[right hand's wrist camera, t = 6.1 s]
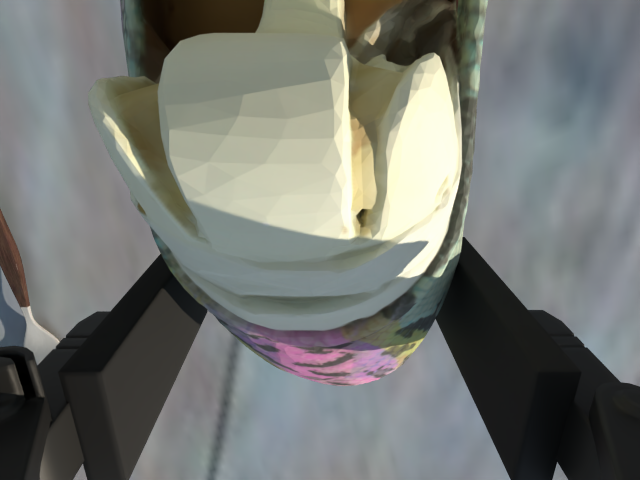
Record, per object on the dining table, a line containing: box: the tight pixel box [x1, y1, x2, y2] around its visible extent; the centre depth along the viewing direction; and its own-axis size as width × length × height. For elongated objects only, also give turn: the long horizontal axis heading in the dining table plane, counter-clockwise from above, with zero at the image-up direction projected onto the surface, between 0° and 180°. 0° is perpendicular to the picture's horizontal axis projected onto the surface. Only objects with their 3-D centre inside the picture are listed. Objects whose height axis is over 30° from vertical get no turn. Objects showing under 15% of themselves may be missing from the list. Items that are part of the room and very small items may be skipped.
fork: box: [0, 209, 59, 365], centre depth 26 cm, size 3×16×2 cm, turn 1°
